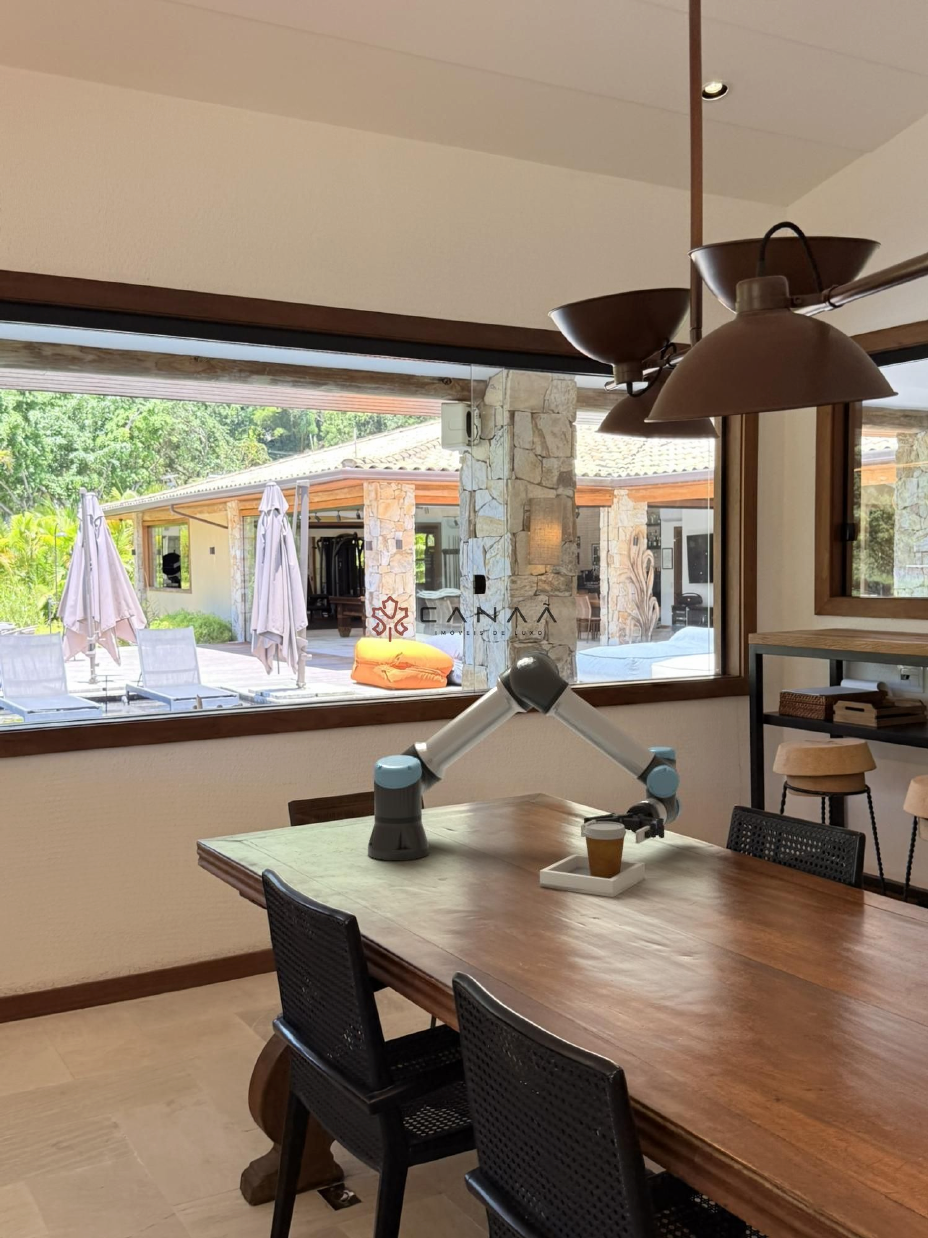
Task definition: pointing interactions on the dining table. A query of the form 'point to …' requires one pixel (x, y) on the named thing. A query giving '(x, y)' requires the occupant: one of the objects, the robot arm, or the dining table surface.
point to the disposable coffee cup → (604, 848)
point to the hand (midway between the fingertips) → (609, 834)
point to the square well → (590, 877)
